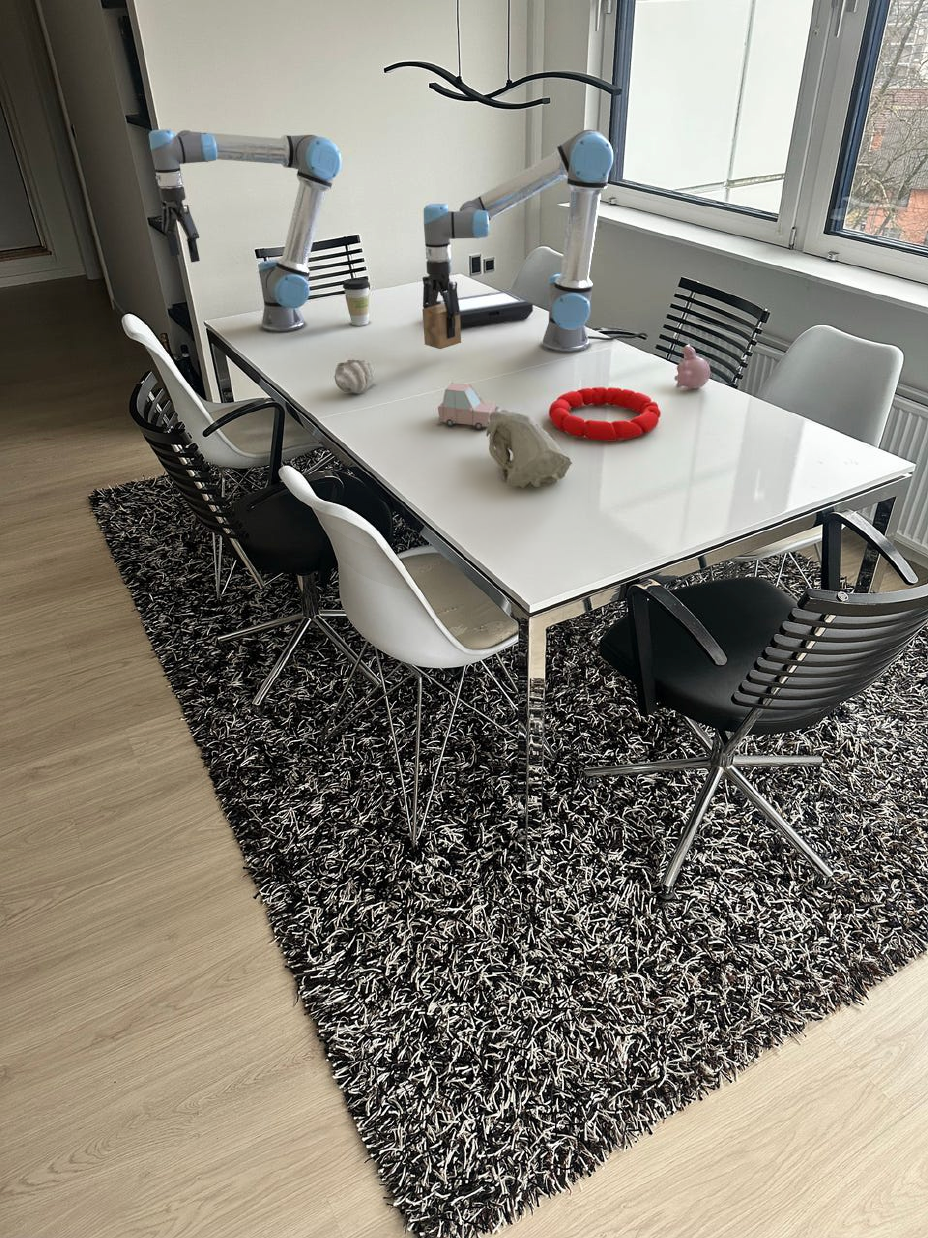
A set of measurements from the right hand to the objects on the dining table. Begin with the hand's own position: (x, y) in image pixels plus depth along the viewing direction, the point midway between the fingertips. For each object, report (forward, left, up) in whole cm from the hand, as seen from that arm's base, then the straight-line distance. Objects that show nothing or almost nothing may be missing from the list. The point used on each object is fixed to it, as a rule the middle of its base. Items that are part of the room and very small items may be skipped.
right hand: (442, 334), depth 285 cm
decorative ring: (-34, +62, -9) cm, 72 cm away
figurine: (-67, +44, -9) cm, 80 cm away
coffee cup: (+23, -50, -9) cm, 55 cm away
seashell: (+30, +22, -9) cm, 38 cm away
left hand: (+79, -32, +22) cm, 88 cm away
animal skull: (-5, +87, -9) cm, 87 cm away
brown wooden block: (0, 0, -3) cm, 3 cm away
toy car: (+2, +54, -9) cm, 55 cm away
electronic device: (-21, -43, -9) cm, 48 cm away
